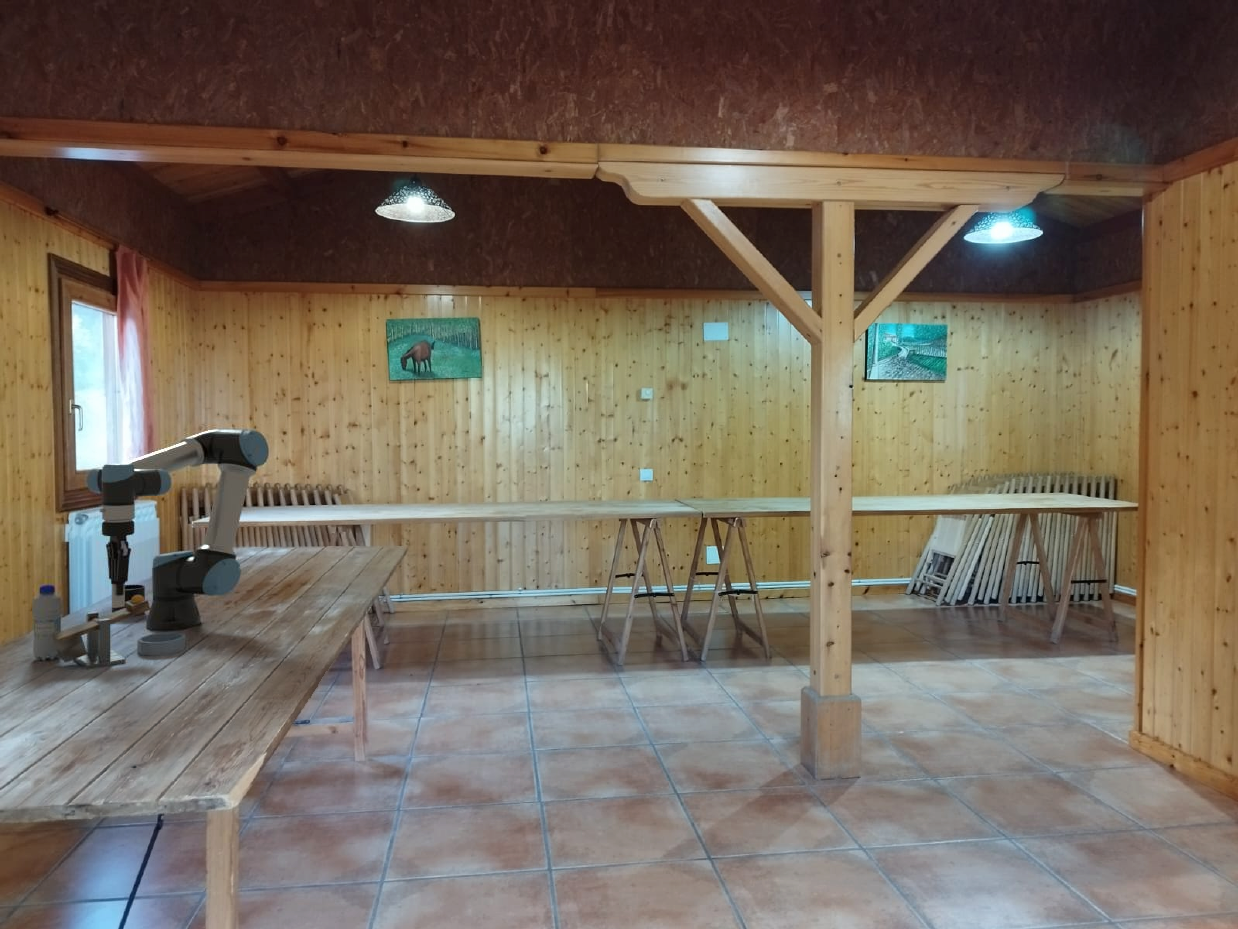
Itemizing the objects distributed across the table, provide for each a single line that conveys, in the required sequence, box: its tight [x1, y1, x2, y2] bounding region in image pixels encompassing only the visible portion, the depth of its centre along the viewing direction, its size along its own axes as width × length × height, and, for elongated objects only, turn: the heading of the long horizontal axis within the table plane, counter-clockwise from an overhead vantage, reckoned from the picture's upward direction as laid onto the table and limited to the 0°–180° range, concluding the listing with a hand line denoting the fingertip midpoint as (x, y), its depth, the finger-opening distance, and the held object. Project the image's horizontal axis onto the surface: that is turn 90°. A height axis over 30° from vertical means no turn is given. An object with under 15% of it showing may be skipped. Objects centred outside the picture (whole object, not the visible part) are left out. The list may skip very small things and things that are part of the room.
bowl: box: [136, 631, 186, 656], centre depth 229 cm, size 11×11×4 cm
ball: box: [131, 595, 144, 604], centre depth 224 cm, size 3×3×3 cm
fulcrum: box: [73, 611, 127, 670], centre depth 217 cm, size 9×14×12 cm, turn 47°
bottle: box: [31, 584, 63, 662], centre depth 217 cm, size 7×7×20 cm
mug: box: [111, 584, 146, 617], centre depth 271 cm, size 9×12×9 cm
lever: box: [52, 599, 151, 663], centre depth 218 cm, size 22×8×8 cm, turn 137°
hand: (118, 606), depth 220 cm, fingers closed
